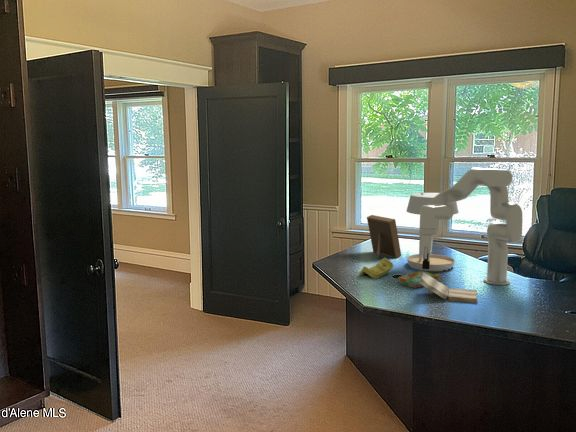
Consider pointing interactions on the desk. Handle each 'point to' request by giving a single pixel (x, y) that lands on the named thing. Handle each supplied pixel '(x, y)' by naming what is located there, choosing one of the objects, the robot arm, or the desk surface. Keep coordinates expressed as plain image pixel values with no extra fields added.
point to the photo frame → (384, 236)
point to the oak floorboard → (462, 295)
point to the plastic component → (378, 269)
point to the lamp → (417, 260)
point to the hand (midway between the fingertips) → (425, 268)
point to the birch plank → (434, 285)
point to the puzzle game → (415, 279)
